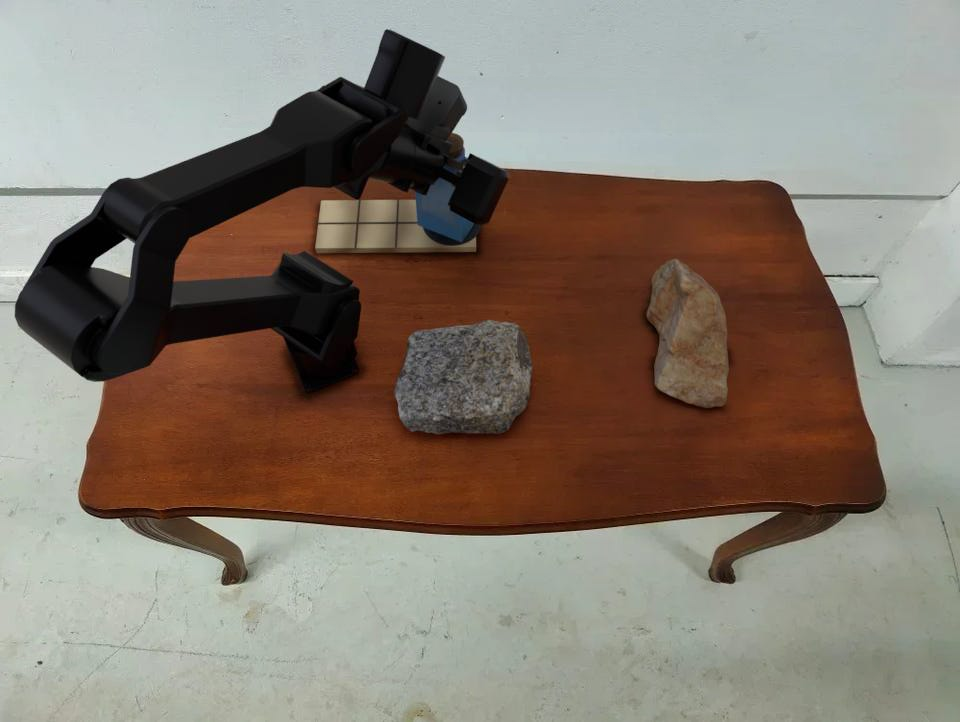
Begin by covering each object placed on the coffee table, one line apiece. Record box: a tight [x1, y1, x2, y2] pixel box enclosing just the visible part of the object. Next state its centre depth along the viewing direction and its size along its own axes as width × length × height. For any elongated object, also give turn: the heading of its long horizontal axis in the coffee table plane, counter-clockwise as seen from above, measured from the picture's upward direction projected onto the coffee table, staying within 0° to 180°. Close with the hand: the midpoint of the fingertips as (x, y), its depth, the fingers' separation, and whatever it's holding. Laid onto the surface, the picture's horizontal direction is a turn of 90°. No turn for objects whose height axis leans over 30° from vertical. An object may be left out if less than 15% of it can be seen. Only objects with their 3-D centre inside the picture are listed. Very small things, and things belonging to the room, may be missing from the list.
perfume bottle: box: [414, 132, 474, 242], centre depth 84 cm, size 6×6×12 cm
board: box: [314, 198, 483, 254], centre depth 90 cm, size 21×8×1 cm, turn 91°
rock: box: [392, 319, 534, 436], centre depth 76 cm, size 13×6×15 cm
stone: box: [646, 258, 730, 409], centre depth 81 cm, size 17×9×10 cm, turn 172°
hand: (456, 171), depth 84 cm, fingers closed on perfume bottle, 6 cm apart
